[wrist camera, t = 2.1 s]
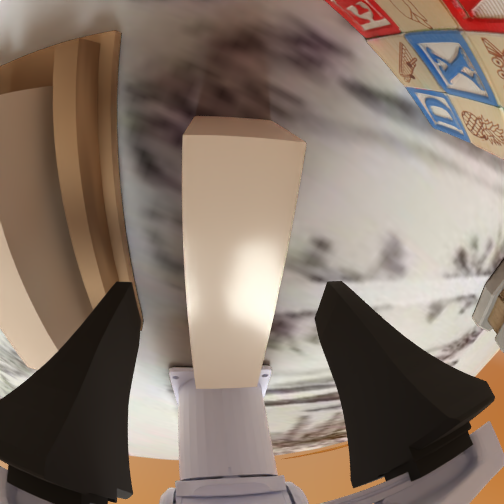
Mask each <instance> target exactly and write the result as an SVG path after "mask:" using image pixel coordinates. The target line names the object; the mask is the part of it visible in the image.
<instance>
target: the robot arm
mask: <svg viewBox="0 0 504 504" xmlns="http://www.w3.org/2000/svg"><path fill="white" fill-rule="evenodd" d="M315 322H316V327H317V332H318V336H319V340H320V343H321V346H322V349H323V351H324V354H325V357H326V359H327V362H328V365H329V367H330V370H331V373H332V376H333V378H334V381H335V384H336V387H337V390H338V393H339V396H340V401H341V405H342V410H343V414H344V420H345V425H346V431H347V438H348V446H349V455H350V471H351V482H352V486H353V488H355V487H358V486H361V485H364V484H367V483H370V482H372V481H375V480H378V479H380V478H382V477H385V480H386V482H384V483H381V484H379V485H376V486H374V487H371V488H368V489H366V490H363V491H360V492H357V493H354V494H351V495H348V496H345V497H342V498H339V499H335V500H331V501H328V502H324V503H320V504H372V503H374V504H469V503H470V502H471V501H472V500H473V499H474V498H475V497H476V495H477V494H478V493H479V492H480V491H481V490H482V489H483V487H484V486H485V485H486V484H487V483H488V482H489V481H490V480H491V479H492V478H493V477H494V476H495V475H496V473H497V472H498V471H499V470H500V469H501V468H502V467H503V466H504V453H503V451H502V448H501V446H500V443H499V441H498V438H497V436H496V434H495V431H494V429H493V427H492V425H491V423H490V422H487V423H486V424H484V425H483V426H482V427H480V428H479V429H477V430H476V431H475V432H473V433H472V434H470V435H469V434H468V430H470V429H471V425H470V423H469V421H470V420H471V419H473V418H474V417H476V416H477V415H478V414H479V413H480V412H482V411H483V410H484V409H485V408H487V407H488V406H489V405H490V404H491V403H492V402H493V401H494V399H495V396H494V394H493V393H492V391H491V389H490V387H489V385H488V383H487V382H486V381H484V380H481V379H479V378H476V377H473V376H471V375H468V374H466V373H464V372H461V371H459V370H457V369H455V368H453V367H451V366H449V365H447V364H446V363H444V362H442V361H440V360H439V359H437V358H435V357H434V356H432V355H430V354H429V353H427V352H426V351H424V350H423V349H421V348H420V347H418V346H417V345H416V344H414V343H413V342H411V341H410V340H409V339H407V338H406V337H405V336H403V335H402V334H401V333H400V332H398V331H397V330H396V329H395V328H394V327H392V326H391V325H390V324H389V323H388V322H387V321H385V320H384V319H383V318H382V317H381V316H380V315H379V314H378V313H376V312H375V311H374V310H373V309H372V308H371V307H370V306H369V305H368V304H367V303H365V302H364V301H363V300H362V299H361V298H360V297H359V296H358V295H357V294H356V293H355V292H354V291H352V290H351V289H350V288H349V287H348V286H347V285H346V284H344V283H343V282H342V281H332V282H327V285H326V288H325V291H324V293H323V296H322V299H321V302H320V305H319V308H318V311H317V313H316V316H315ZM140 329H141V318H140V314H139V310H138V306H137V302H136V298H135V293H134V289H133V284H132V282H116V283H115V284H114V285H113V286H112V287H111V288H110V290H109V291H108V292H107V293H106V295H105V296H104V297H103V298H102V300H101V301H100V302H99V303H98V305H97V306H96V307H95V308H94V310H93V311H92V312H91V313H90V315H89V316H88V317H87V318H86V319H85V321H84V322H83V323H82V324H81V326H80V327H79V328H78V329H77V330H76V331H75V333H74V334H73V335H72V336H71V337H70V338H69V339H68V341H67V342H66V343H65V344H64V345H63V346H62V347H61V348H60V349H59V350H58V351H57V353H56V354H55V355H54V356H53V357H52V358H51V359H50V360H49V361H48V362H46V363H45V364H44V365H43V366H42V367H41V368H40V369H39V370H37V371H36V372H35V373H34V374H33V375H32V376H31V377H30V378H29V379H27V380H26V381H25V382H24V383H22V384H21V385H20V386H19V387H17V388H16V389H15V390H13V391H12V392H11V393H9V394H8V395H6V396H5V397H4V398H2V399H0V460H1V461H3V462H5V463H7V464H8V465H9V466H8V470H6V469H5V468H3V467H1V466H0V504H108V501H110V502H115V503H116V502H117V497H118V498H123V499H127V498H129V497H130V496H131V495H133V490H132V485H131V477H130V469H129V455H128V404H129V395H130V389H131V383H132V378H133V373H134V368H135V362H136V357H137V352H138V347H139V339H140ZM271 373H272V369H271V367H270V366H268V365H264V366H262V368H261V373H260V377H259V381H258V385H257V387H245V388H222V389H196V385H195V378H194V370H193V368H188V367H172V368H170V369H169V377H170V380H171V384H172V388H173V391H174V394H175V398H176V401H177V404H178V431H179V468H180V469H179V470H180V481H175V485H176V488H168V490H167V491H166V492H165V493H163V494H162V496H161V498H160V503H159V504H309V503H308V500H307V498H306V496H305V494H304V492H303V491H302V490H301V489H300V488H299V487H298V486H296V485H295V484H294V483H292V482H285V478H284V475H281V476H278V474H277V469H276V464H275V459H274V453H273V448H272V442H271V437H270V432H269V426H268V421H267V415H266V410H265V404H264V396H265V393H266V389H267V386H268V383H269V380H270V376H271Z"/></svg>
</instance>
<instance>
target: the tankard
mask: <svg viewBox="0 0 504 504" xmlns="http://www.w3.org/2000/svg"><path fill="white" fill-rule="evenodd" d="M472 319H473V320H474V322H475V323H476V324H477V326H479V327H480V328H482V329H484V330H486V331H490V330H491V329H494V331H495V332H496V333H497V335H496V337H495V341H496V342H497V344H498V345H499V347H500V350H501V351H503V353H504V260H503V261H502V263H501V264H500V265H499V267H498V268H497V270H496V271H495V272H494V274H493V275H492V276H491V278H490V279H489V280H488V282H487V283H486V284H485V286H484V289H483V291H482V294H481V297H480V299H479V302H478V304H477V307H476V309H475V311H474V314H473V317H472Z"/></svg>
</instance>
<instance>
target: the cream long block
mask: <svg viewBox="0 0 504 504" xmlns="http://www.w3.org/2000/svg"><path fill="white" fill-rule="evenodd" d="M92 311H93V308H92V305H91V303H90V300H89V297H88V294H87V291H86V288H85V285H84V282H83V279H82V276H81V273H80V270H79V266H78V263H77V260H76V256H75V252H74V249H73V245H72V241H71V237H70V233H69V229H68V225H67V220H66V215H65V211H64V206H63V200H62V195H61V189H60V183H59V176H58V168H57V160H56V151H55V140H54V125H53V86H46V87H39V88H32V89H26V90H21V91H15V92H10V93H6V94H1V95H0V328H1V330H2V331H3V333H4V334H5V336H6V337H7V339H8V340H9V342H10V343H11V345H12V346H13V348H14V349H15V350H16V352H17V353H18V355H19V356H20V357H21V359H22V360H23V361H24V363H25V364H26V365H27V367H29V368H33V369H37V370H39V369H40V368H41V367H42V366H43V365H44V364H45V363H46V362H48V361H49V360H50V359H51V358H52V357H53V356H54V355H55V354H56V353H57V351H58V350H59V349H60V348H61V347H62V346H63V345H64V344H65V343H66V342H67V341H68V339H69V338H70V337H71V336H72V335H73V334H74V333H75V331H76V330H77V329H78V328H79V327H80V326H81V324H82V323H83V322H84V321H85V319H86V318H87V317H88V316H89V315H90V313H91V312H92Z"/></svg>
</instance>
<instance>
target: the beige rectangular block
mask: <svg viewBox="0 0 504 504" xmlns="http://www.w3.org/2000/svg"><path fill="white" fill-rule="evenodd" d="M306 144H307V143H306V142H305V141H303V140H302V139H300V138H299V137H297V136H296V135H294V134H292V133H291V132H289V131H288V130H286V129H284V128H283V127H281V126H280V125H278V124H276V123H275V122H273V121H271V120H262V119H251V118H236V117H215V116H195V117H194V118H193V120H192V121H191V123H190V124H189V126H188V128H187V129H186V131H185V132H184V134H183V145H182V223H183V251H184V271H185V287H186V301H187V313H188V324H189V335H190V344H191V353H192V362H193V370H194V378H195V385H196V389H222V388H245V387H257V385H258V381H259V377H260V373H261V368H262V364H263V360H264V356H265V352H266V347H267V343H268V339H269V334H270V330H271V326H272V321H273V317H274V312H275V308H276V303H277V298H278V294H279V289H280V284H281V279H282V275H283V270H284V265H285V260H286V255H287V250H288V245H289V240H290V235H291V229H292V224H293V219H294V214H295V208H296V203H297V197H298V192H299V186H300V180H301V174H302V169H303V163H304V157H305V150H306Z"/></svg>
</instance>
